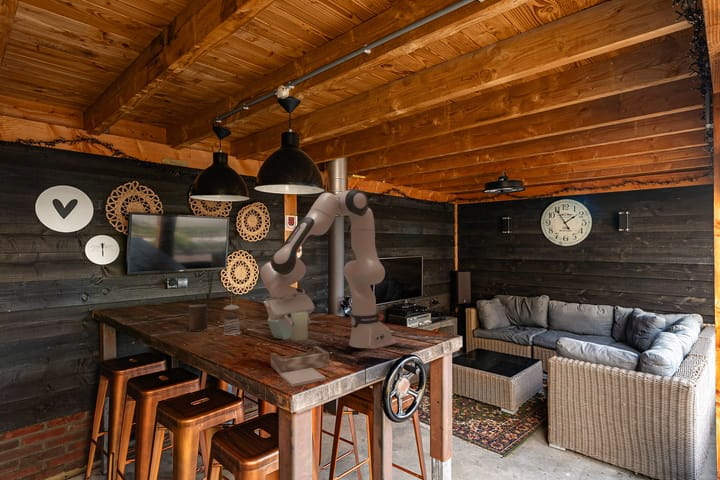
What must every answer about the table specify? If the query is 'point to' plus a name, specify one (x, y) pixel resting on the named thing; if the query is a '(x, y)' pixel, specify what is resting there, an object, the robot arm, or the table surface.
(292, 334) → the sage green rounded cylinder
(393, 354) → the table surface
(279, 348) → the table surface
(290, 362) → the frame
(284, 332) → the grey-green faceted block
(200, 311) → the pillar candle
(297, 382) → the concrete tile
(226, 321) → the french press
